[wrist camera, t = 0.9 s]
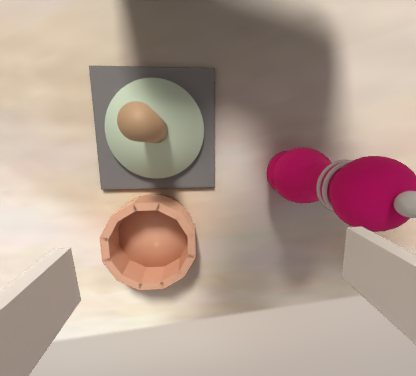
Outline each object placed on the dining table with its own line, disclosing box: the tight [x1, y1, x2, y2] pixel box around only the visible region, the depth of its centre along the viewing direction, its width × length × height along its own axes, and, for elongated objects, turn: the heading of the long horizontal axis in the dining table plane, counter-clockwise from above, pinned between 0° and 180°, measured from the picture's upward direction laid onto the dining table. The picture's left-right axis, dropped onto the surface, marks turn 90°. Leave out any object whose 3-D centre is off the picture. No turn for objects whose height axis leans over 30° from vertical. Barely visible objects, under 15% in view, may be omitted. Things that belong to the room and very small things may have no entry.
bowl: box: [100, 194, 196, 290], centre depth 31 cm, size 12×12×5 cm
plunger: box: [105, 78, 204, 179], centre depth 25 cm, size 13×13×11 cm
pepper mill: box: [267, 147, 416, 232], centre depth 23 cm, size 7×7×20 cm
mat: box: [89, 66, 215, 189], centre depth 30 cm, size 16×16×1 cm
